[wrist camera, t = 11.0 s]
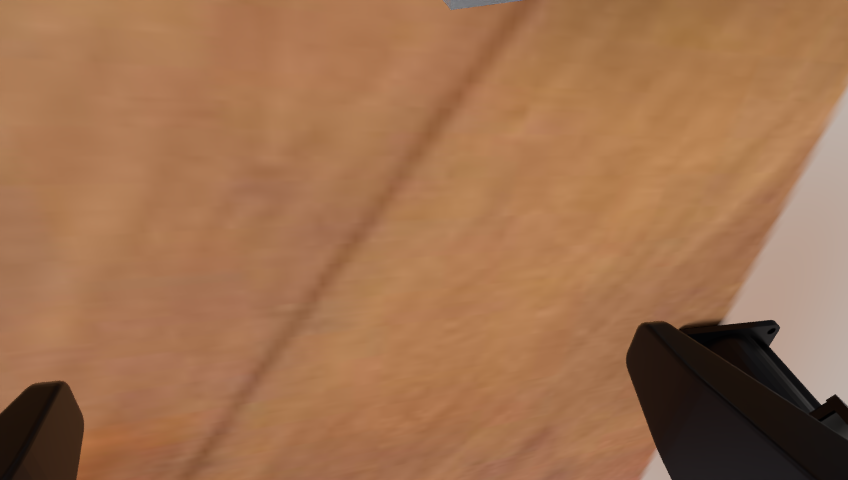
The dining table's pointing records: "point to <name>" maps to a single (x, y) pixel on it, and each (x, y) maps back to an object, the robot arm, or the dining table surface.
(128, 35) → the dining table surface
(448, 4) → the gray square block
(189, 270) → the dining table surface
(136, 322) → the dining table surface
